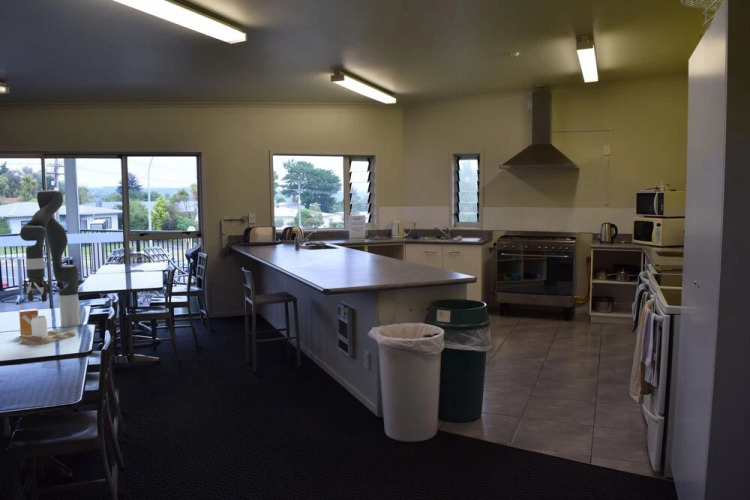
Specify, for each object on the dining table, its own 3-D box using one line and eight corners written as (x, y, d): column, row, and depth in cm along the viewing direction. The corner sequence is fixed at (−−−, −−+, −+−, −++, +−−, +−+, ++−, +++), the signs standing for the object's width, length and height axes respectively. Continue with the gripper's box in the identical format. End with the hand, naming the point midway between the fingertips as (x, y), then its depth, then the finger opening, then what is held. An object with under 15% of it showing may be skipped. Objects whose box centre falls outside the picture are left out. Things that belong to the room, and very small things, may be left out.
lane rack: (55, 334, 299) (55, 327, 299) (74, 335, 295) (74, 328, 295) (20, 343, 280) (20, 336, 280) (40, 344, 276) (39, 337, 276)
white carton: (32, 343, 279) (30, 318, 278) (32, 341, 285) (31, 316, 284) (47, 341, 282) (46, 317, 281) (48, 339, 288) (46, 315, 287)
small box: (21, 337, 293) (19, 311, 292) (20, 335, 299) (18, 310, 298) (39, 335, 298) (38, 309, 297) (38, 333, 303) (37, 308, 302)
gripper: (53, 267, 282) (55, 300, 283) (31, 266, 287) (33, 299, 288) (39, 268, 275) (41, 303, 276) (17, 268, 280) (19, 302, 281)
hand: (37, 301), depth 282 cm, fingers open, 8 cm apart
